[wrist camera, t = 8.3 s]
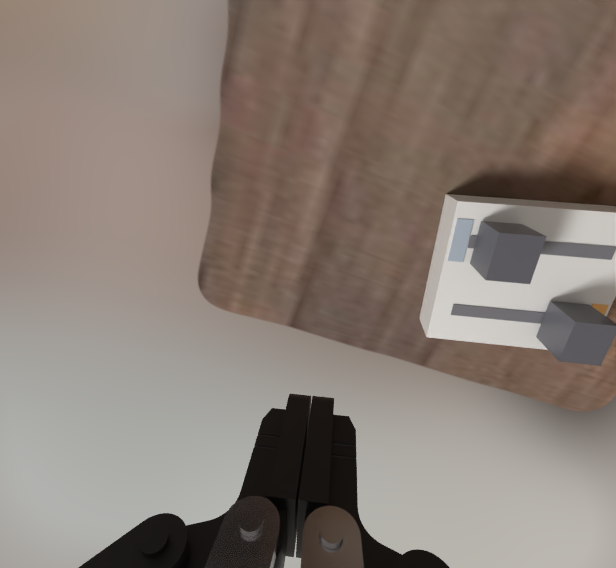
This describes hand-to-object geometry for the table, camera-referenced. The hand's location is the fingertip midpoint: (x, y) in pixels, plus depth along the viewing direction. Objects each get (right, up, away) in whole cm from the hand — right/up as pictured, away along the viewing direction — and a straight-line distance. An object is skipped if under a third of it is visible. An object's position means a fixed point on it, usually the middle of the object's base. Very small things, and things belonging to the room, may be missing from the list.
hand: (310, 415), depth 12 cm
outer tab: (+24, +1, +21) cm, 33 cm away
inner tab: (+17, +8, +19) cm, 27 cm away
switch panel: (+21, +6, +24) cm, 33 cm away
